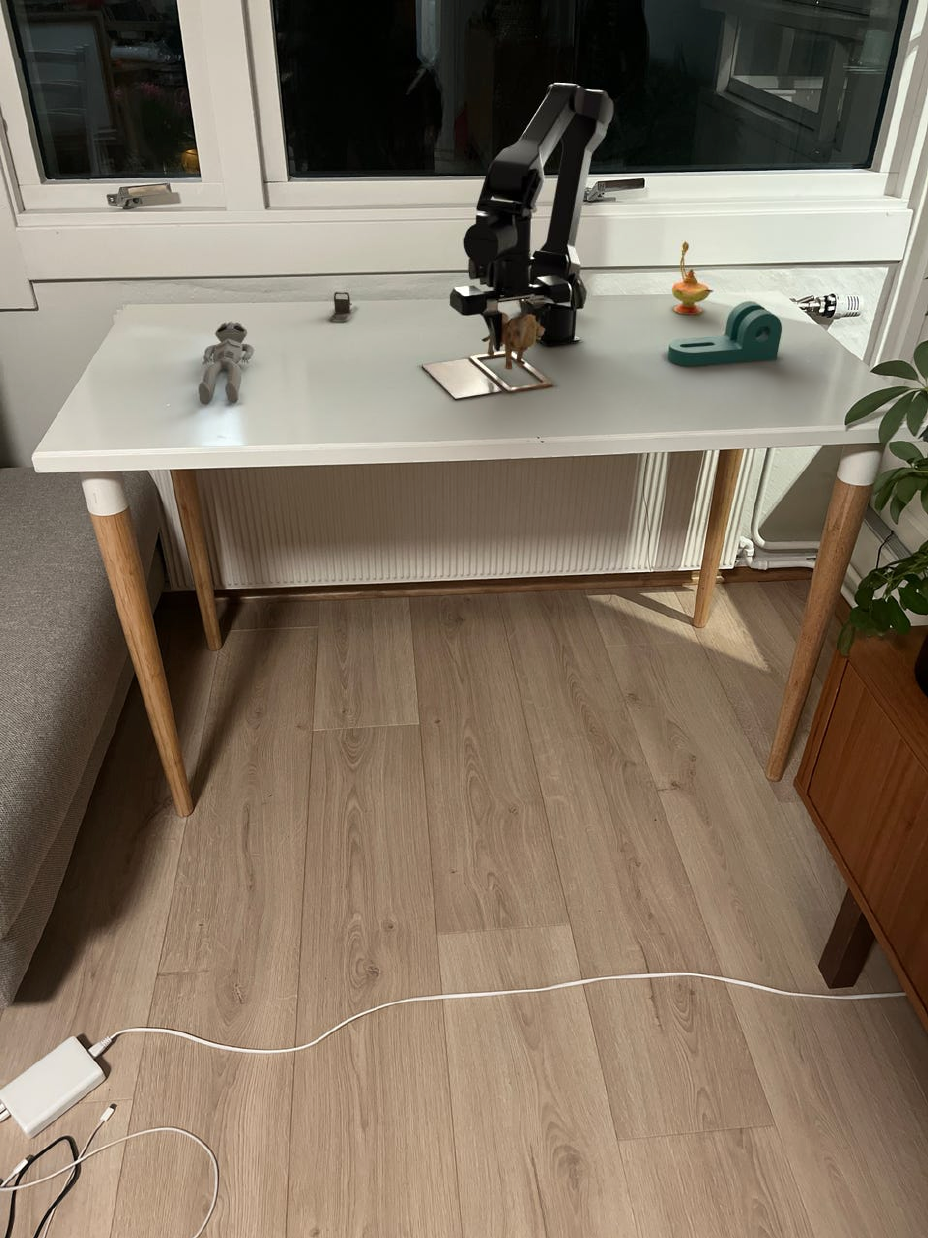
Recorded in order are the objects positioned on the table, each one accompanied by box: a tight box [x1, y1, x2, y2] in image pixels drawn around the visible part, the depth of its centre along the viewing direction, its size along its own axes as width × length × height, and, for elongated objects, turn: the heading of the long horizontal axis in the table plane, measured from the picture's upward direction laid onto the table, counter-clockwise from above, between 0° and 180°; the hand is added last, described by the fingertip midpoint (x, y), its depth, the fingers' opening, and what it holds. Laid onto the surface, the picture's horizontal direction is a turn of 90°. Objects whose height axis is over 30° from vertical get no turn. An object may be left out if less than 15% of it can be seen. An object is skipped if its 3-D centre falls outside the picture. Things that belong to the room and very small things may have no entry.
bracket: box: [667, 300, 783, 367], centre depth 162 cm, size 18×7×8 cm, turn 102°
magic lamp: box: [671, 240, 714, 316], centre depth 179 cm, size 7×18×11 cm, turn 7°
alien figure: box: [198, 321, 255, 405], centre depth 156 cm, size 8×5×25 cm
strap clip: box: [331, 291, 355, 322], centre depth 180 cm, size 8×3×4 cm, turn 174°
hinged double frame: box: [421, 350, 554, 401], centre depth 157 cm, size 16×16×1 cm
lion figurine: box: [481, 311, 545, 371], centre depth 154 cm, size 15×5×9 cm, turn 33°
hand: (509, 348), depth 156 cm, fingers closed on lion figurine, 4 cm apart
